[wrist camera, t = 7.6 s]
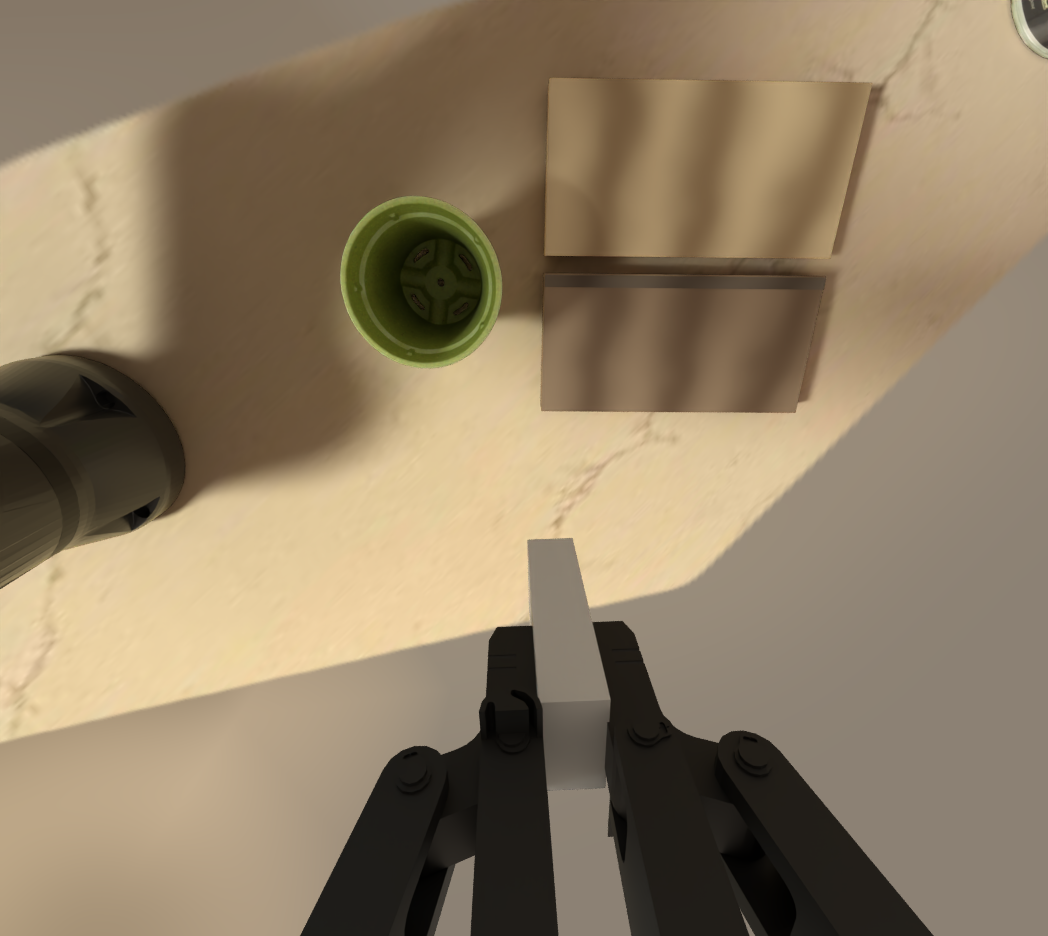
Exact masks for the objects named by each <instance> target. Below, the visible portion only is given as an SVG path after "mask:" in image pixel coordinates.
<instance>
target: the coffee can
mask: <svg viewBox="0 0 1048 936" xmlns="http://www.w3.org/2000/svg"><path fill="white" fill-rule="evenodd" d="M1011 12H1012V17H1013V20H1014V23H1015V26H1016V29H1017V31H1018V34H1019V35H1020V37H1021V39H1022V40H1023V41H1024V43H1025V44H1026V45H1027V46H1028V47H1029V48H1030V49H1031V50H1032V51H1033V52H1035V53H1036V54H1038V55H1040V56H1041V57H1043V58H1046V59H1048V0H1011Z"/></svg>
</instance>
